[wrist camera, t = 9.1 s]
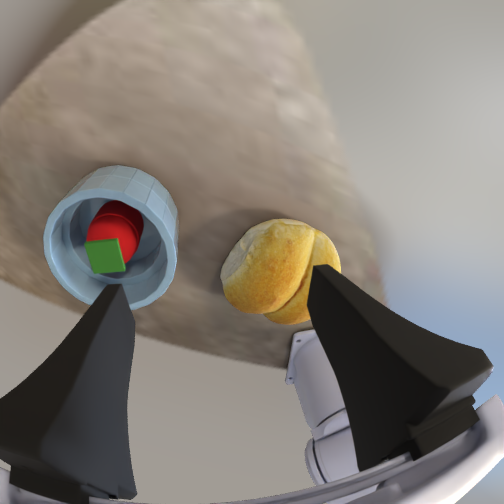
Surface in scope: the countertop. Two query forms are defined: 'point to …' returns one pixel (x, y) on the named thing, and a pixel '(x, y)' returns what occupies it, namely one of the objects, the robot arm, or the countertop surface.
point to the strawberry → (113, 237)
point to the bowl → (150, 247)
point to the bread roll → (276, 269)
